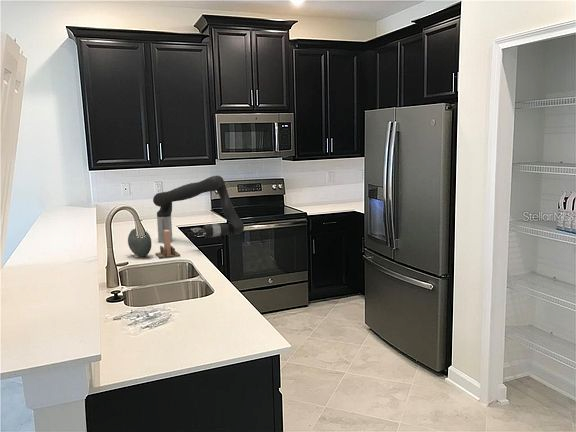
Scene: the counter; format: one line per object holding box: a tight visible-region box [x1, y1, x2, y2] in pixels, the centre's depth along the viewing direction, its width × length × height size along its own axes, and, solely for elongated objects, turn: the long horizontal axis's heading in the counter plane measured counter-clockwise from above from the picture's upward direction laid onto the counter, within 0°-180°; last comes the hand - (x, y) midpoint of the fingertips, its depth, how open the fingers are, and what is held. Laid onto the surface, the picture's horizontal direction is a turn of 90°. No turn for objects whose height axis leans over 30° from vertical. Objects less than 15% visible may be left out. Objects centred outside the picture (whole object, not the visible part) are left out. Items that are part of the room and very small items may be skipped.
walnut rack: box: [154, 245, 181, 260], centre depth 286 cm, size 12×12×5 cm
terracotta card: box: [163, 230, 172, 255], centre depth 285 cm, size 6×2×14 cm, turn 27°
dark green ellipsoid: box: [127, 219, 152, 258], centre depth 283 cm, size 12×17×22 cm
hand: (186, 232), depth 290 cm, fingers open, 8 cm apart
